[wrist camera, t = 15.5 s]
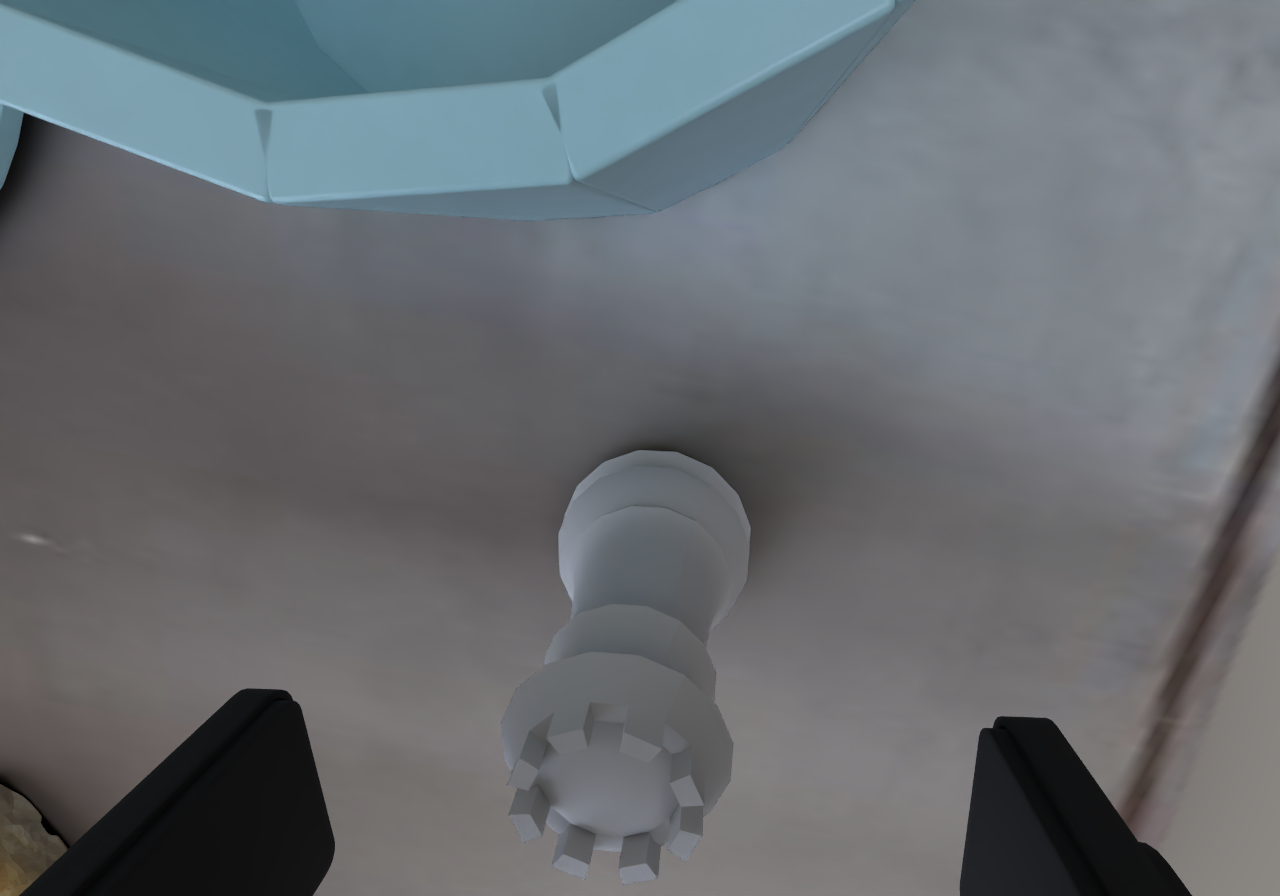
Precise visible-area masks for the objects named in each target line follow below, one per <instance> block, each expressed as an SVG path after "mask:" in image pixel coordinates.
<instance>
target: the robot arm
mask: <svg viewBox="0 0 1280 896" xmlns="http://www.w3.org/2000/svg"><path fill="white" fill-rule="evenodd" d="M334 851H335V841H334V836H333V832H332V828H331V824H330V821H329V817H328V813H327V809H326V805H325V801H324V797H323V793H322V789H321V785H320V781H319V777H318V773H317V769H316V765H315V761H314V757H313V753H312V749H311V745H310V741H309V737H308V733H307V729H306V725H305V721H304V718H303V714H302V710H301V707H300V705H299V704H298V703H297V702H296V701H293V699H292V697H291V695H290V694H289V693H288V692H287V691H285V690H275V689H248V688H247V689H244V690H241V691H239V692H238V693H236V694H235V695H234V696H233V697H232V698H230V699H229V700H228V701H227V702H226V703H225V704H224V705H223V706H222V707H221V708H220V709H219V710H218V711H216V712H215V713H214V714H213V715H212V716H211V717H210V718H209V719H208V720H207V721H206V722H205V723H204V724H203V725H201V726H200V727H199V728H198V729H197V730H196V731H195V732H194V733H193V734H192V735H191V736H190V737H189V738H187V739H186V740H185V741H184V742H183V743H182V744H181V745H180V746H179V747H178V748H177V749H176V750H175V751H174V752H172V753H171V754H170V755H169V756H168V757H167V758H166V759H165V760H164V761H163V762H162V763H161V764H160V765H158V766H157V767H156V768H155V769H154V770H153V771H152V772H151V773H150V774H149V775H148V776H147V777H146V778H145V779H143V780H142V781H141V782H140V783H139V784H138V785H137V786H136V787H135V788H134V789H133V790H132V791H131V792H129V793H128V794H127V795H126V796H125V797H124V798H123V799H122V800H121V801H120V802H119V803H118V804H117V805H116V806H114V807H113V808H112V809H111V810H110V811H109V812H108V813H107V814H106V815H105V816H104V817H103V818H102V819H100V820H99V821H98V822H97V823H96V824H95V825H94V826H93V827H92V828H91V829H90V830H89V831H88V832H87V833H85V834H84V835H83V836H82V837H81V838H80V839H79V840H78V841H77V842H76V843H75V844H74V845H73V846H72V847H70V848H69V849H68V850H67V851H66V852H65V853H64V854H63V855H62V856H61V857H60V858H59V859H58V860H56V861H55V862H54V863H53V864H52V865H51V866H50V867H49V868H48V869H47V870H46V871H45V872H44V873H43V874H41V875H40V876H39V877H38V878H37V879H36V880H35V881H34V882H33V883H32V884H31V885H30V886H29V887H27V888H26V889H25V890H24V891H23V892H22V893H21V894H20V895H19V896H313V894H314V893H315V891H316V890H317V888H318V886H319V885H320V883H321V882H322V880H323V878H324V877H325V875H326V874H327V872H328V870H329V868H330V866H331V863H332V860H333V856H334ZM960 896H1192V895H1191V894H1190V892H1189V891H1188V889H1187V888H1186V887H1185V885H1184V884H1183V883H1182V881H1181V880H1180V878H1179V877H1178V876H1177V874H1176V873H1175V872H1174V870H1173V869H1172V868H1171V866H1170V865H1169V864H1168V863H1167V861H1166V860H1165V859H1164V858H1163V857H1162V856H1161V855H1160V853H1159V852H1158V851H1157V850H1155V849H1154V848H1152V847H1151V846H1149V845H1148V844H1146V843H1142V842H1138V841H1137V839H1136V838H1135V836H1134V835H1133V834H1132V832H1131V831H1130V829H1129V828H1128V827H1127V825H1126V824H1125V822H1124V821H1123V819H1122V818H1121V817H1120V815H1119V814H1118V812H1117V811H1116V809H1115V808H1114V807H1113V805H1112V804H1111V802H1110V801H1109V799H1108V798H1107V797H1106V795H1105V794H1104V792H1103V791H1102V790H1101V788H1100V787H1099V785H1098V784H1097V782H1096V781H1095V780H1094V778H1093V777H1092V775H1091V774H1090V772H1089V771H1088V770H1087V768H1086V767H1085V765H1084V764H1083V762H1082V761H1081V760H1080V758H1079V757H1078V755H1077V754H1076V753H1075V751H1074V750H1073V748H1072V747H1071V745H1070V744H1069V743H1068V741H1067V740H1066V738H1065V737H1064V735H1063V734H1062V733H1061V731H1060V730H1059V728H1058V727H1057V726H1056V725H1055V724H1054V722H1053V721H1051V720H1050V719H1048V718H1032V717H1005V716H1001V717H997V719H996V720H995V722H994V726H993V728H983V729H982V730H981V732H980V736H979V742H978V750H977V757H976V765H975V773H974V780H973V788H972V795H971V803H970V811H969V818H968V826H967V833H966V841H965V849H964V856H963V864H962V872H961V879H960Z"/></svg>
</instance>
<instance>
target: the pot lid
mask: <svg viewBox="0 0 1280 896" xmlns="http://www.w3.org/2000/svg"><path fill="white" fill-rule="evenodd" d="M23 115H24V112H21V111H18V110H15V109H13V108H10V107H7V106H5V105H2V104H0V190H1V188H2V186H3V184H4V182H5V179H6V176H7V174H8V171H9V168H10V165H11V162H12V159H13V156H14V154H15V151H16V148H17V145H18V140H19V135H20V130H21V125H22V120H23Z"/></svg>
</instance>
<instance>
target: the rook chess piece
mask: <svg viewBox="0 0 1280 896" xmlns="http://www.w3.org/2000/svg"><path fill="white" fill-rule="evenodd" d="M750 532H751V527H750V524H749V521H748V519H747V516H746V513H745V511H744V508H743V505H742V503H741V500H740V497H739V495H738V494H737V493H736V492H735V491H734V489H733V488H732V487H731V486H730V485H729V484H728V483H727V482H726V481H725V480H724V479H723V478H722V477H721V476H720V475H719V474H718V473H717V472H716V471H715V470H714V469H713V468H712V467H710V466H708V465H705V464H703V463H701V462H699V461H696V460H694V459H692V458H690V457H687V456H685V455H683V454H681V453H678V452H669V451H648V450H637V451H634V452H631V453H628V454H625V455H623V456H620V457H617V458H614V459H611V460H608V461H605V462H603V463H602V464H601V465H599V466H598V467H597V468H596V469H595V470H594V471H593V472H592V473H591V474H590V475H588V476H587V477H586V478H585V479H584V480H583V481H582V482H581V483H580V484H578V485H577V487H576V489H575V492H574V494H573V496H572V499H571V501H570V503H569V506H568V508H567V510H566V513H565V515H564V521H563V524H562V526H561V528H560V531H559V533H558V542H559V570H560V577H561V579H562V581H563V583H564V585H565V587H566V589H567V592H568V594H569V596H570V598H571V600H572V602H573V604H572V611H571V619H570V621H569V622H568V623H567V624H566V625H564V626H563V627H562V628H561V629H560V630H558V631H557V632H556V633H555V635H554V638H553V640H552V642H551V644H550V646H549V648H548V651H547V653H546V655H545V657H544V667H543V668H541V669H540V670H539V671H538V672H536V673H535V674H534V675H533V676H531V677H530V678H529V679H528V680H526V681H525V682H524V683H523V684H521V685H520V686H519V687H518V688H516V690H515V693H514V695H513V697H512V699H511V702H510V704H509V706H508V708H507V710H506V713H505V715H504V717H503V719H502V722H501V724H502V738H503V753H504V759H505V761H506V763H507V765H508V767H509V769H510V771H511V774H510V777H509V779H508V782H507V785H508V786H512V787H515V788H518V789H517V792H516V795H515V798H514V801H513V803H512V806H511V809H510V812H509V817H510V819H511V821H512V822H513V824H514V826H515V828H516V829H517V831H518V833H519V835H520V836H521V838H522V840H523V842H524V843H526V842H529V841H531V840H533V839H536V838H538V837H541V836H542V834H543V831H544V827H545V824H547V825H548V826H549V827H551V828H552V829H553V830H554V831H555V832H556V833H558V834H559V838H558V842H557V846H556V850H555V854H554V858H553V862H552V866H553V867H555V868H557V869H560V870H562V871H564V872H567V873H569V874H572V875H574V876H576V877H579V878H581V879H583V880H586V878H587V874H588V870H589V866H590V861H591V856H592V851H593V849H598V850H607V851H616V852H621V856H620V863H619V872H620V875H621V879H622V883H623V885H625V884H630V883H635V882H641V881H646V880H652V879H657V878H658V872H659V860H660V849H661V846H662V845H663V844H665V843H667V842H668V848H667V850H668V851H670V852H672V853H673V854H675V855H676V856H678V857H680V858H681V859H683V860H685V861H687V859H688V857H689V856H690V854H691V853H692V851H693V850H694V848H695V847H696V845H697V844H698V842H699V841H700V839H701V838H702V836H703V817H704V816H705V815H707V814H708V813H709V812H710V811H711V810H712V808H713V807H714V805H715V804H716V802H717V801H718V799H719V798H720V796H721V794H722V793H723V791H724V790H725V788H726V787H727V785H728V784H729V782H730V781H731V767H732V754H733V742H732V739H731V737H730V735H729V732H728V730H727V727H726V725H725V723H724V720H723V718H722V716H721V713H720V711H719V709H718V706H717V705H716V704H715V703H714V700H715V684H716V671H715V669H714V666H713V664H712V661H711V659H710V657H709V654H708V652H707V649H706V644H707V640H708V636H709V632H710V631H711V630H712V629H714V628H715V626H716V625H717V623H719V622H720V621H721V620H723V619H724V618H725V617H727V615H728V614H729V612H730V610H731V608H732V607H733V605H734V603H735V601H736V600H737V598H738V596H739V594H740V593H741V591H742V589H743V587H744V585H745V583H746V581H747V575H748V562H749V550H750Z"/></svg>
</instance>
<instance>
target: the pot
mask: <svg viewBox="0 0 1280 896" xmlns="http://www.w3.org/2000/svg"><path fill="white" fill-rule="evenodd" d="M914 1H915V0H0V104H2V105H5V106H7V107H10V108H13V109H15V110H18V111H21V112H24V113H26V114H29V115H32V116H34V117H37V118H40V119H42V120H45V121H48V122H50V123H53V124H56V125H58V126H61V127H64V128H66V129H69V130H72V131H74V132H77V133H80V134H82V135H85V136H88V137H90V138H93V139H96V140H99V141H101V142H104V143H107V144H109V145H112V146H115V147H117V148H120V149H123V150H125V151H128V152H131V153H133V154H136V155H139V156H141V157H144V158H147V159H149V160H152V161H155V162H157V163H160V164H163V165H166V166H168V167H171V168H174V169H176V170H179V171H182V172H184V173H187V174H190V175H192V176H195V177H198V178H200V179H203V180H206V181H208V182H211V183H214V184H216V185H219V186H222V187H224V188H227V189H230V190H233V191H235V192H238V193H241V194H243V195H246V196H249V197H251V198H254V199H257V200H259V201H262V202H265V203H275V204H279V205H290V206H306V207H321V208H336V209H352V210H367V211H382V212H398V213H413V214H429V215H444V216H459V217H475V218H490V219H505V220H521V221H535V220H551V219H568V218H596V217H604V216H618V215H634V214H651V213H655V212H656V211H662V210H663V209H665V208H667V207H669V206H671V205H673V204H675V203H677V202H679V201H681V200H683V199H685V198H687V197H689V196H691V195H693V194H695V193H697V192H699V191H701V190H704V189H706V188H708V187H711V186H713V185H715V184H718V183H720V182H721V181H723V180H725V179H726V178H728V177H730V176H731V175H733V174H735V173H737V172H738V171H740V170H742V169H743V168H745V167H747V166H749V165H751V164H753V163H755V162H757V161H759V160H761V159H763V158H765V157H767V156H769V155H771V154H773V153H775V152H777V151H779V150H781V149H782V148H783V147H784V146H785V145H786V144H788V143H790V141H791V140H792V139H793V138H794V137H795V136H796V135H797V134H798V132H799V131H800V130H801V129H802V128H803V127H804V126H805V125H806V123H807V122H808V121H809V120H810V119H811V118H812V117H813V116H814V114H815V113H816V112H817V111H818V110H819V109H820V108H821V107H822V105H823V104H824V103H825V102H826V101H827V100H828V99H829V98H830V96H831V95H832V94H833V93H834V92H835V91H836V90H837V89H838V88H839V86H840V85H841V84H842V83H843V82H844V81H845V80H846V78H847V77H848V76H849V75H850V74H851V73H852V72H853V71H854V69H855V68H856V67H857V66H858V65H859V64H860V63H861V62H862V60H863V59H864V58H865V57H866V56H867V55H868V54H869V53H870V51H871V50H872V49H873V48H874V47H875V46H876V45H877V44H878V42H879V41H880V40H881V39H882V38H883V37H884V36H885V35H886V33H887V32H888V31H889V30H890V29H891V28H892V27H893V26H894V24H895V23H896V22H897V21H898V20H899V19H900V18H901V16H902V15H903V14H904V13H905V12H906V11H907V9H908V8H909V7H910V6H911V5H912V4H913V2H914Z"/></svg>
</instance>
